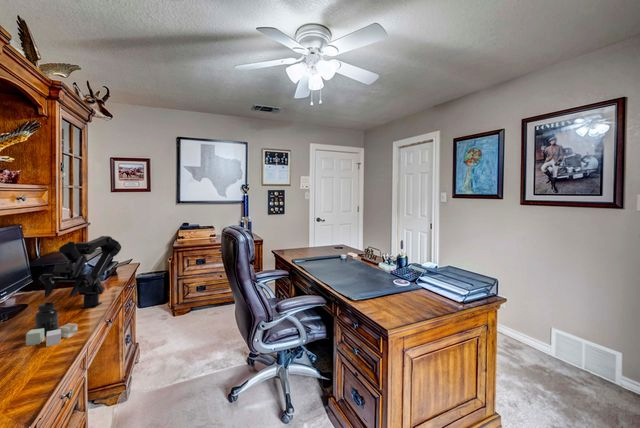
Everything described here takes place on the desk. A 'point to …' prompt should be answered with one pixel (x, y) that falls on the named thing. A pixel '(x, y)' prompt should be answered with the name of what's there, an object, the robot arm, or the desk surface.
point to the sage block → (34, 337)
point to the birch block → (68, 330)
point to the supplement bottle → (46, 317)
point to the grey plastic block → (53, 337)
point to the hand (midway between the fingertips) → (57, 297)
